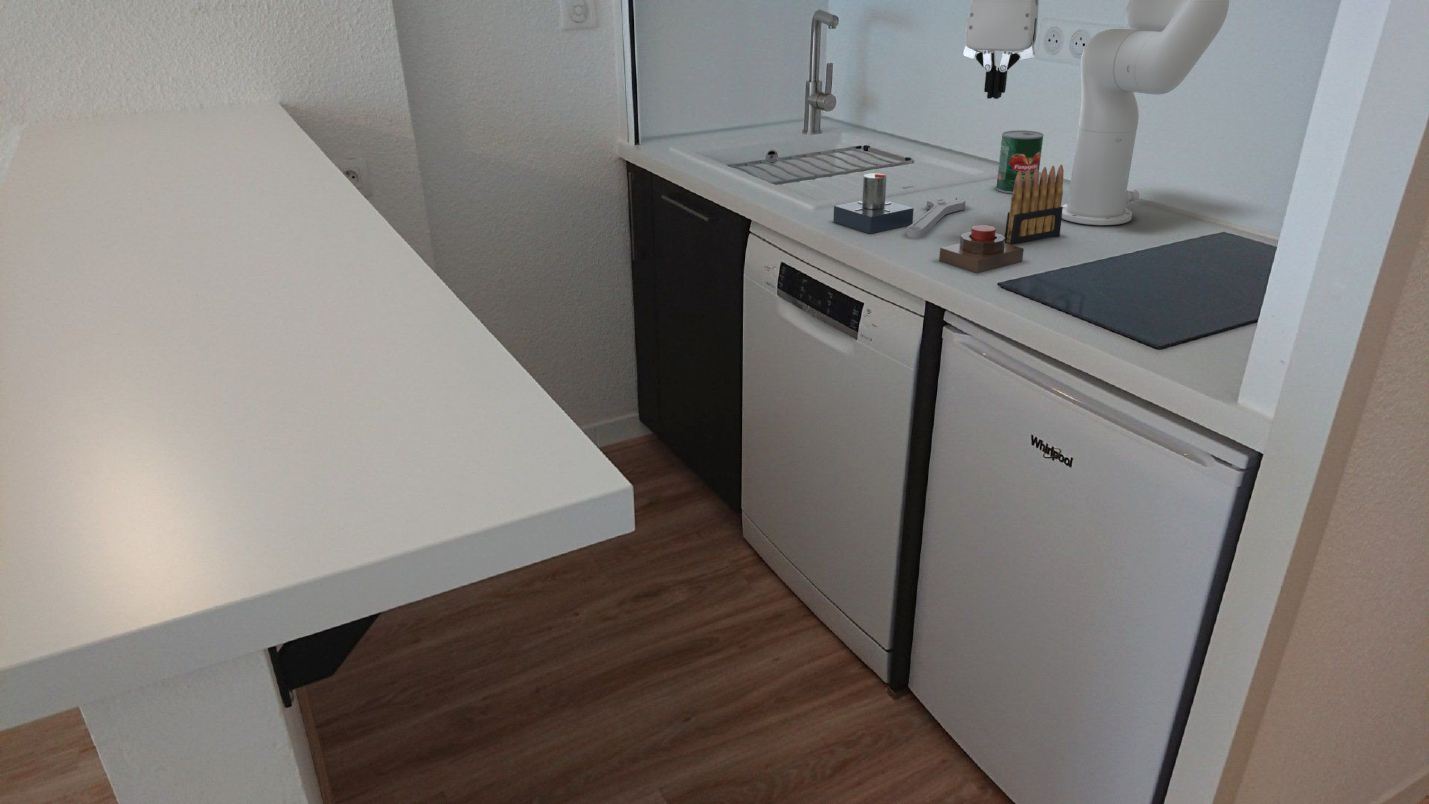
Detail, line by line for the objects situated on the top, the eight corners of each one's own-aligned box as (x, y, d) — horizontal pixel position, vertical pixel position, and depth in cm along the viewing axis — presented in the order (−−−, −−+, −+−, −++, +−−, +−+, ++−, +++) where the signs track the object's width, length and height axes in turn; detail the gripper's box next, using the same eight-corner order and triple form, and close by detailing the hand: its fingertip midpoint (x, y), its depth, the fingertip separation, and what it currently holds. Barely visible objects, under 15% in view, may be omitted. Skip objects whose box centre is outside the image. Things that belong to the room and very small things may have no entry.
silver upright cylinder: (859, 208, 169) (860, 175, 166) (866, 203, 172) (867, 170, 170) (880, 210, 167) (882, 177, 165) (887, 205, 171) (889, 172, 168)
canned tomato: (1020, 196, 187) (1026, 138, 182) (987, 189, 193) (993, 133, 188) (1045, 189, 191) (1052, 133, 186) (1012, 183, 197) (1018, 128, 192)
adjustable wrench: (919, 239, 161) (920, 229, 161) (884, 235, 164) (884, 225, 164) (968, 206, 180) (969, 197, 179) (936, 203, 183) (936, 193, 183)
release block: (983, 250, 155) (985, 226, 153) (1022, 262, 148) (1025, 237, 147) (938, 261, 150) (940, 236, 148) (977, 273, 144) (979, 248, 142)
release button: (982, 234, 150) (983, 223, 149) (999, 239, 147) (1000, 228, 146) (965, 238, 148) (966, 227, 147) (983, 243, 145) (984, 232, 145)
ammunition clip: (1051, 233, 162) (1061, 162, 157) (1059, 236, 161) (1069, 164, 156) (1003, 242, 158) (1011, 170, 153) (1010, 245, 157) (1019, 172, 152)
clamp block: (875, 213, 177) (875, 196, 176) (912, 224, 170) (913, 207, 168) (833, 222, 172) (833, 204, 171) (870, 234, 165) (870, 215, 163)
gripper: (1063, -32, 142) (1047, 96, 150) (963, -31, 148) (953, 92, 156) (1054, -30, 136) (1038, 103, 144) (950, -29, 142) (940, 98, 150)
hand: (994, 97), depth 150 cm, fingers closed
